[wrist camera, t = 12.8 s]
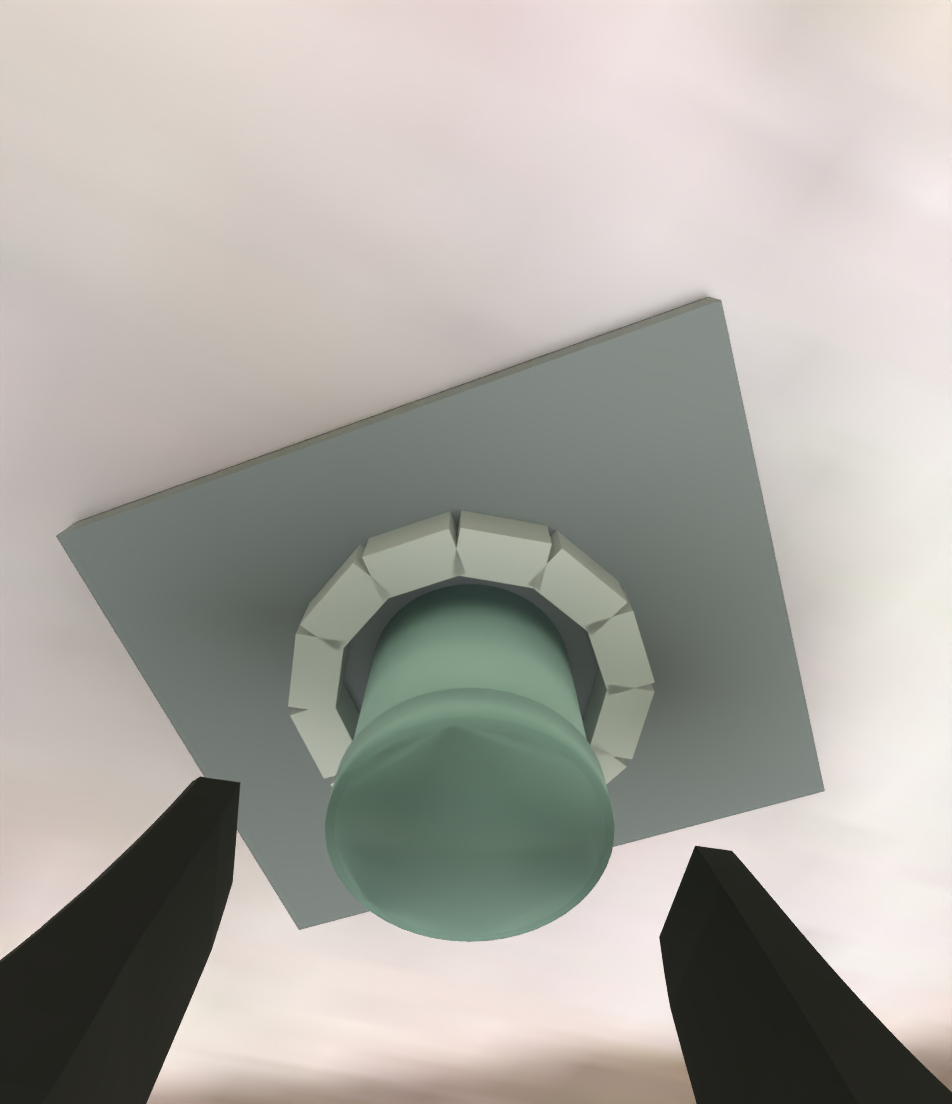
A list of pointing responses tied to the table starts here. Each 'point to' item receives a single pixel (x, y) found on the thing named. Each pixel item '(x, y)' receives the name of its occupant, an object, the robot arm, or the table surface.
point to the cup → (470, 774)
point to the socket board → (484, 559)
